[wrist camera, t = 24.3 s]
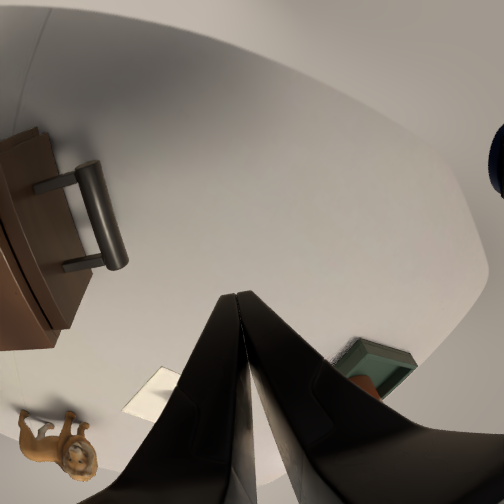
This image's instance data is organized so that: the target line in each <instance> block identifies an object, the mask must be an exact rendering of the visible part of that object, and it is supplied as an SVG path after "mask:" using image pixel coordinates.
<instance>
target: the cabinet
mask: <svg viewBox="0 0 504 504" xmlns="http://www.w3.org/2000/svg"><path fill="white" fill-rule="evenodd" d="M38 135H39V134H38V130H37V127H34V128H32V129H29V130H26V131H24V132H21V133H19V134H16V135H14V136H12V137H9V138H7V139H4V140H2V141H0V153H1V152H3V151H5V150H7V149H9V148H11V147H13V146H15V145H18V144H20V143H22V142H24V141H26V140H29V139H31V138H33V137H36V136H38ZM60 332H61V330H54V329H53V327H52V325H51V324H50V322H49V320H48V318H47V317H46V315H45V313H44V311H43V310H42V308H39V306H38V304H37V303H36V301H35V299H34V297H33V295H32V293H31V291H30V289H29V287H28V285H27V283H26V281H25V279H24V277H23V275H22V273H21V271H20V269H19V267H18V264H17V262H16V260H15V258H14V256H13V253H12V251H11V249H10V246H9V244H8V242H7V239H6V237H5V234H4V232H3V229H2V227H1V224H0V351H11V350H31V349H47V348H54V347H55V345H56V342H57V339H58V337H59V335H60Z"/></svg>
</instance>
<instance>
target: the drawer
mask: <svg viewBox="0 0 504 504" xmlns="http://www.w3.org/2000/svg"><path fill="white" fill-rule="evenodd" d="M77 182H78V184H79V187H80V191H81V194H82V197H83V201H84V204H85V207H86V210H87V213H88V216H89V219H90V223H91V226H92V228H93V231H94V234H95V237H96V240H97V243H98V246H99V248H100V251H101V253H98V254H93V255H88V256H86V255H85V253H84V250H83V247H82V245H81V242H80V239H79V237H78V234H77V231H76V228H75V225H74V223H73V220H72V217H71V214H70V211H69V208H68V205H67V201H66V198H65V195H64V192H63V189H62V187H65V186H69V185H72V184H76V183H77ZM0 224H1V227H2V229H3V232H4V234H5V237H6V239H7V242H8V244H9V246H10V249H11V251H12V253H13V256H14V258H15V260H16V262H17V264H18V267H19V269H20V271H21V273H22V275H23V277H24V279H25V281H26V283H27V285H28V287H29V289H30V291H31V293H32V295H33V297H34V299H35V301H36V303H37V304H38V306H39V308H42V310H43V311H44V313H45V315H46V317H47V318H48V320H49V322H50V324H51V325H52V327H53V329H54V330H63V329H70V327H71V325H72V322H73V320H74V317H75V315H76V312H77V310H78V307H79V305H80V302H81V300H82V298H83V295H84V293H85V291H86V288H87V286H88V284H89V282H90V279H91V277H92V275H93V273H92V270H91V268H95V267H101V266H105V265H106V267H107V269H108V270H111V271H115V270H119V269H121V268H123V267H125V266H126V265H127V264H128V262H129V258H128V255H127V252H126V249H125V246H124V243H123V240H122V237H121V234H120V231H119V228H118V224H117V221H116V218H115V214H114V211H113V208H112V204H111V201H110V197H109V194H108V190H107V186H106V183H105V179H104V175H103V171H102V167H101V163H100V161H99V160H92V161H89V162H86V163H83V164H81V165H79V166H77V167H76V168H75V171H71V172H68V173H65V174H61V175H58V171H57V168H56V164H55V160H54V156H53V153H52V149H51V145H50V140H49V136H48V132H46V133H43V134H41V135H38V136H36V137H33V138H31V139H29V140H26V141H24V142H22V143H20V144H18V145H15V146H13V147H11V148H9V149H7V150H5V151H3V152H1V153H0Z"/></svg>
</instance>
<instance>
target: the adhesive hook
mask: <svg viewBox="0 0 504 504" xmlns="http://www.w3.org/2000/svg"><path fill="white" fill-rule="evenodd" d="M180 376H181V375H180V374H177V373H175V372H172V371H170V370H168V369H165V368H163V367H161V368H160V369H159V370H158V371H157V372H156V374H155V375H154V376H153V377H152V378H151V379H150V380H149V381H148V382H147V383H146V384H145V386H144V387H143V388H142V389H141V390H140V391H139V392H138V393H137V394H136V395H135V396H134V398H133V399H132V400H131V401H130V402H129V403H128V404H127V405H126V406H125V407H124V408H123V409H122V411H124V412H126V413H129V414H132V415H134V416H137V417H140V418H143V419H145V420H148V421H151V422H154V423H156V421H157V419H158V418H159V416H160V415H161V413H162V411H163V409H164V407H165V406H166V404H167V402H168V400H169V398H170V396H171V394H172V392H173V390H174V388H175V386H177V382H178V380H179V378H180Z"/></svg>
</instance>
